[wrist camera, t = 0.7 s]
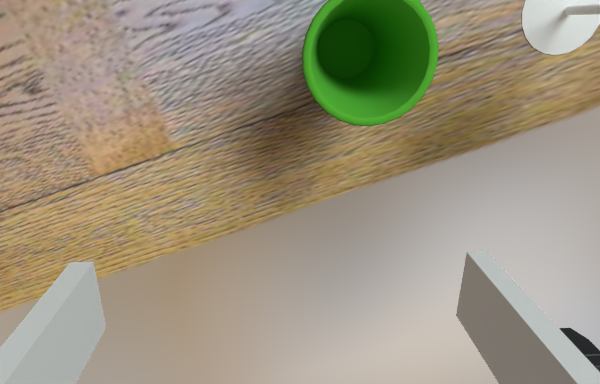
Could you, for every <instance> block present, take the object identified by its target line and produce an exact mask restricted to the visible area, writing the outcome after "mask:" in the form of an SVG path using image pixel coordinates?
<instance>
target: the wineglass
mask: <svg viewBox="0 0 600 384" xmlns="http://www.w3.org/2000/svg"><path fill="white" fill-rule="evenodd" d="M599 24H600V0H525V4H524V7H523V11H522V27H523V30H524V34H525V37H526V39H527V40H528V41H529V43H530V44H531V45H532V47H533V48H535V49H537V50H538V51H540V52H542V53H544V54H551V55H559V54H564V53H569V52H570V51H572V50H574V49H576V48H578V47H580V46H581V45H582V44H583V43H585V42H586V41H587V40H588V39H589V38H590V37H591V36H592V34H593V33H594V31H595V30H596V28H597V27H598V25H599Z"/></svg>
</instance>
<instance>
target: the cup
mask: <svg viewBox="0 0 600 384" xmlns="http://www.w3.org/2000/svg"><path fill="white" fill-rule="evenodd" d="M438 47H439V46H438V40H437V34H436V29H435V26H434V24H433V22H432V19H431V17H430V14H429V13H428V12H427V10H426V9H425V8H424V6H423V5H422V4H421V2H420V1H419V0H329V1H327V2H326V3H325V4H324V5H323V6H322V8H321V9H320V10H319V11H318V13H317V14H316V15H315V17H314V18H313V20H312V22H311V24H310V26H309V29H308V31H307V33H306V36H305V41H304V46H303V51H302V63H303V73H304V76H305V80H306V84H307V87H308V89H309V90H310V92H311V94H312V96H313V98H314V99H315V101H316V102H317V103H318V104H319V105H320V106H321V107H322V108H323V109H324V110H325V111H326V112H327V113H328V114H330V115H331V116H333V117H335V118H336V119H338V120H340V121H343V122H346V123H349V124H352V125H359V126H373V125H379V124H385V123H387V122H389V121H392V120H394V119H397V118H399V117H401V116H402V115H403V114H405V113H406V112H407V111H409V110H410V109H412V108H413V107H414V106H415V105H416V103H417V102H418V101H419V100H420V99H421V98H422V97H423V96H424V94H425V92H426V90H427V89H428V87H429V85H430V83H431V82H432V79H433V76H434V73H435V70H436V66H437V60H438Z"/></svg>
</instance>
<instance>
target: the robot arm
mask: <svg viewBox="0 0 600 384" xmlns="http://www.w3.org/2000/svg"><path fill="white" fill-rule="evenodd" d="M456 316H457V317H458V319H459V320H460V322H461V324H462V325H463V326H464V328H465V330H466V331H467V333H468V334H469V336H470V338H471V339H472V341H473V343H474V344H475V346H476V347H477V349H478V351H479V352H480V354H481V355H482V357H483V359H484V360H485V362H486V363H487V365H488V367H489V368H490V370H491V371H492V373H493V375H494V376H495V378H496V379H497V381H498V383H499V384H600V351H599V350H598V349H597V348H596V347H595V346H594V345H593V344H592V343H591V342H590V341H589V340H588V339H586V338H585V337H584V336H582V335H580V334H579V333H577V332H576V331H574V330H573V329H571V328H558V327H557V326H556V325H555V324H554V322H553V321H552V320H551V319H550V318H549V317H548V316H547V315H546V314H545V313H544V312H543V311H542V310H541V308H539V306H537V304H536V303H535V302H534V301H533V300H532V299H531V298H530V297H529V296H528V295H527V293H526V292H525V291H524V290H523V289H522V288H521V287H520V286H519V285H518V284H517V283H516V282H515V281H514V279H512V277H511V276H510V275H509V274H508V273H507V272H506V271H505V270H504V269H503V268H502V267H501V266H500V264H499V263H498V262H497V261H496V260H495V259H494V258H493V257H492V256H491V255H490V254H489V253H488V252H467V255H466V261H465V267H464V272H463V278H462V284H461V290H460V297H459V302H458V308H457V314H456ZM105 328H106V324H105V319H104V314H103V309H102V304H101V299H100V293H99V288H98V283H97V278H96V273H95V268H94V263H93V262H70V263H69V265H68V266H67V267H66V268H65V270H64V271H63V272H62V273H61V274H60V276H59V277H58V278H57V279H56V280H55V282H54V283H53V284H52V285H51V287H50V288H49V289H48V290H47V291H46V293H45V294H44V295H43V296H42V297H41V299H40V300H39V301H38V302H37V304H36V305H35V306H34V307H33V308H32V310H31V311H30V312H29V313H28V314H27V316H26V317H25V318H24V319H23V321H22V322H21V323H20V324H19V325H18V327H17V328H16V329H15V330H14V331H13V333H12V334H11V335H10V336H9V338H8V339H7V340H6V341H5V342H4V344H3V345H2V346H1V347H0V384H76V382H77V381H78V379H79V377H80V375H81V373H82V372H83V369H84V368H85V366H86V364H87V362H88V360H89V358H90V356H91V355H92V353H93V351H94V349H95V347H96V345H97V343H98V342H99V340H100V338H101V336H102V334H103V332H104V330H105Z"/></svg>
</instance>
